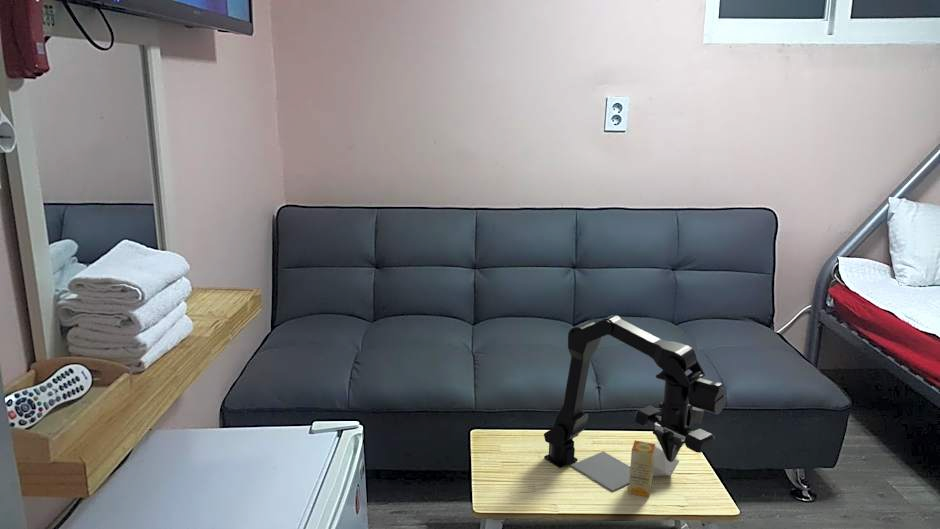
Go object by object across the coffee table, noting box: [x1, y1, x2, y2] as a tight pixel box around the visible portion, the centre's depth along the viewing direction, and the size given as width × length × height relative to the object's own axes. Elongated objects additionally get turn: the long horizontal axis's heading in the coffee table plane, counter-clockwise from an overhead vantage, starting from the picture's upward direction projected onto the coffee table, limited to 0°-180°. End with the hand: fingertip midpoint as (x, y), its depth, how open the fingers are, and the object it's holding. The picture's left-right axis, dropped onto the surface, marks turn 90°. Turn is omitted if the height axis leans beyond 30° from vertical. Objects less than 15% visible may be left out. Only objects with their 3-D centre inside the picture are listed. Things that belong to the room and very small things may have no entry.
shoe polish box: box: [628, 439, 655, 499], centre depth 174 cm, size 5×5×12 cm
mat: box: [570, 451, 631, 493], centre depth 184 cm, size 14×12×1 cm
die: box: [651, 442, 680, 477], centre depth 183 cm, size 8×9×10 cm
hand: (670, 460), depth 166 cm, fingers closed
